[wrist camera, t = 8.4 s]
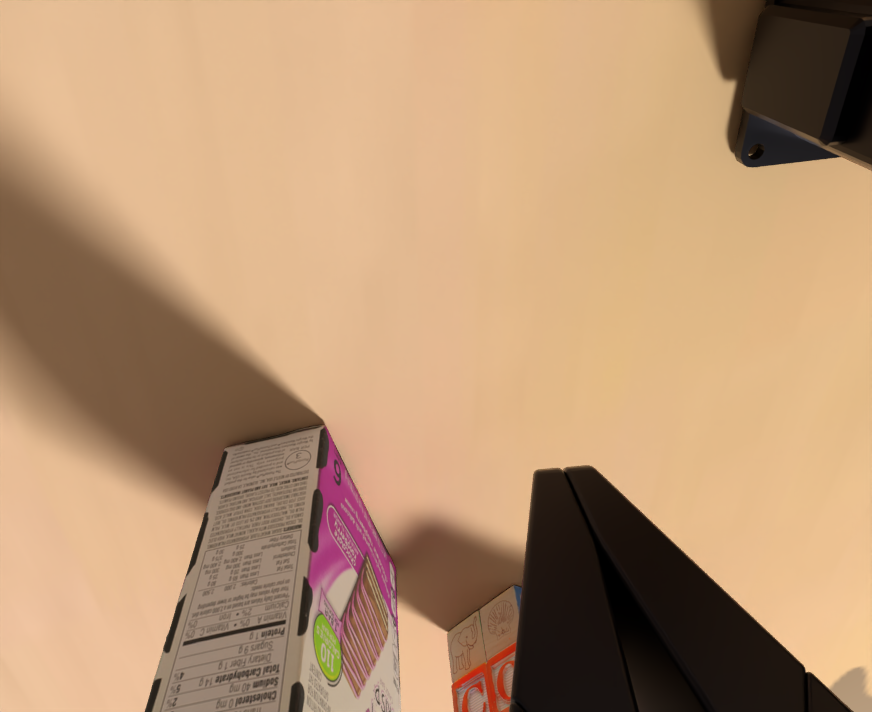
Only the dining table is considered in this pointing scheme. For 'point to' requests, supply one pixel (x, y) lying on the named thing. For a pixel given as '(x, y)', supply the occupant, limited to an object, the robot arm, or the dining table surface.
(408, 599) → the dining table surface
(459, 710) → the stack of blocks
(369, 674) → the candy bar box
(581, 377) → the dining table surface
